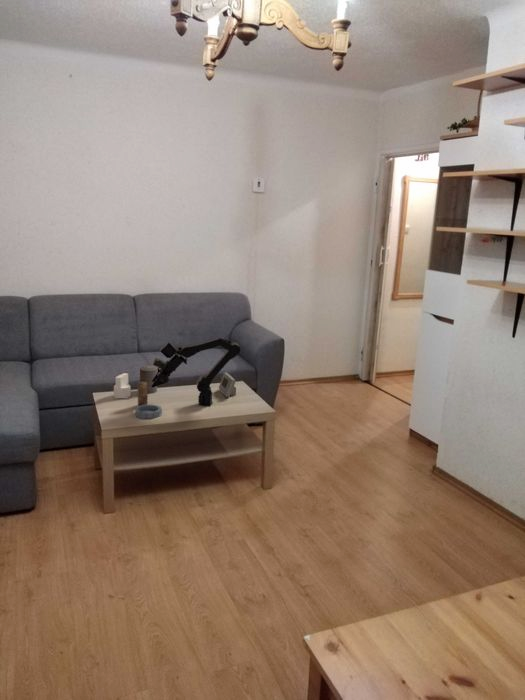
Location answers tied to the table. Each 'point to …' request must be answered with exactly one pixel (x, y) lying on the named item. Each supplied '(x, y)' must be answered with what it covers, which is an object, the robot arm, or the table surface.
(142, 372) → the pillar candle
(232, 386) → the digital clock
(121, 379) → the cylinder with rectangular tab
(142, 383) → the brown tapered cylinder
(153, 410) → the ceramic ring dish
